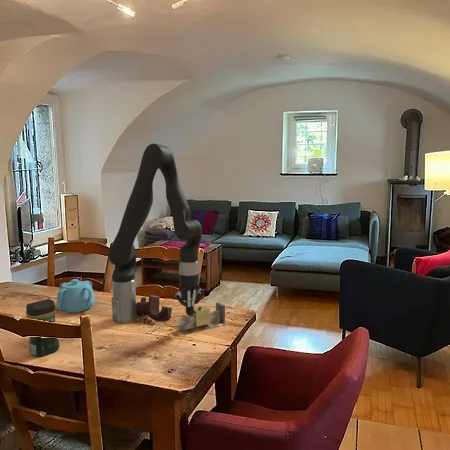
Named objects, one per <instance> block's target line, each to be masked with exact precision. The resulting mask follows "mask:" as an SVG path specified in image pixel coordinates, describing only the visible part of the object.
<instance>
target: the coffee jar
mask: <svg viewBox="0 0 450 450" xmlns="http://www.w3.org/2000/svg"><path fill="white" fill-rule="evenodd" d="M25 308H26V309H25V311H26V312H25V315H26V318H27V319H28V318H31V319H38V320H43V321H49V322H55V323H56V314H57V306H56V303H55V301H54V300H52V299H50V298H47V299H43V300H42V299H41V300H39V301H35V302H30V303H27V304H26V307H25ZM28 337H29V336H28ZM28 339H29V340H28V341H29V342H28V346H29V349H28V352H29V353H30V355H32V356H33V357H42V356H47V355H50V354H52V353H54V352H57V351H58V350H59V349H60V342H59V338H58V339H57V338H41V337H29V338H28Z"/></svg>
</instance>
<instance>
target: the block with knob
mask: <svg viewBox="0 0 450 450" xmlns="http://www.w3.org/2000/svg"><path fill="white" fill-rule="evenodd" d="M210 312H211V308H209V307H208V306H205V305H202V306H201V305H200V306H197V307H194V314H193V315H192V316H194V317H195V326H196V327H197V326H202V325H206V324H210Z"/></svg>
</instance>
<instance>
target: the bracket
mask: <svg viewBox="0 0 450 450" xmlns="http://www.w3.org/2000/svg"><path fill="white" fill-rule="evenodd" d="M160 298H161V297H160V296H159V295H158V296H157V295H151V294H150V295H148V301H147V298H146V297H145V296H144V297H143V296H142V297H141V299H140V302H137V301H136V313H137V316H150V317H151V318H153V319H157V320H171V318H172V311H173V308H172V306H166V305H161V309H160V301H161V300H160Z"/></svg>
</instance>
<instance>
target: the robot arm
mask: <svg viewBox="0 0 450 450" xmlns="http://www.w3.org/2000/svg"><path fill="white" fill-rule="evenodd" d="M171 149H172V148H170V147H168V146H167V145H163V144H158V143H150V144H149V145H147V146H146V148H145V149H144V151H143V153H142V157H141V161H140V164H139V165H140V166H139V169H138V172H137V176H136V180H135V183H134V185H133V188H132V191H131V193H130V196H129V199H128V201H127V203H126V207H125V211H124V213H123V215H122V220H121V223H120V226H119V229H118V232H117V233H116V236H115V237H114V240H113V242H112V244H111V246H110V247H109V249H108V250H109V251H108V259H109V261H110V262H111V264H112V265H113V266H114V267H113V270H112V271H113V272H112V273H111V278H112V279H111V280H112V283H111V285H112V297H111V313H112V320H113V321H114V322H115V323H116V324H128V323H132V322H134V321H136V320H137V316H138V315H137V313H136V303H137V295H136V291H137V290H136V272H137V251H136V247H135V240H136V238H137V235H138V234H139V232H140V230H141V229H142V228H143V226H144V224H145V222H146V220H147V219H148V216H149V215H150V212H151V209H152V206H153V204H154V203H153V202H154V190H153V189H154V188H153V185H154V179H155V176H156V175H157V174H156V173H157V172H158V170H159V171H160V172H161V174H162V176H163V178H164V182H165V196H166V202H167V204H168V206H169V210H170V212H171V214H172V215H171V216H172V223H173V231H174V234H175V237H176V238H178V240H180V241H186V242H185V244H183V245H182V246H180V248H179V266H178V269H179V271H178V272H179V275H178V276H179V289H178V292H177V293H173V296H174V298H175V299H176V301H178V302H179V304H180V305H182V306H183V307H185V314H186V315H187V317H189V316H192V315H193V314H194V308H195V305H198V304H199V303H200V301H201V299H202V298H203V296H204V294H205V293H206V291H205V290H203V289H202V288H201V287H200V284H199V283H200V265H199V247H200V244H201V240H202V235H203V227H202V224H201V223H200V222H199V220H197V219H190V220H186V216H188V215H189V214H190V212H191V209H190V205H189V203H188V200H187V199H186V196H185V193H184V190H183V187H182V185H181V184H182V183H181V181H180V178H179V177H180V176H179V172H178V169H177V164H176V160H175V156H174V153H173V151H172V150H171ZM182 297H183V298H182Z"/></svg>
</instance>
